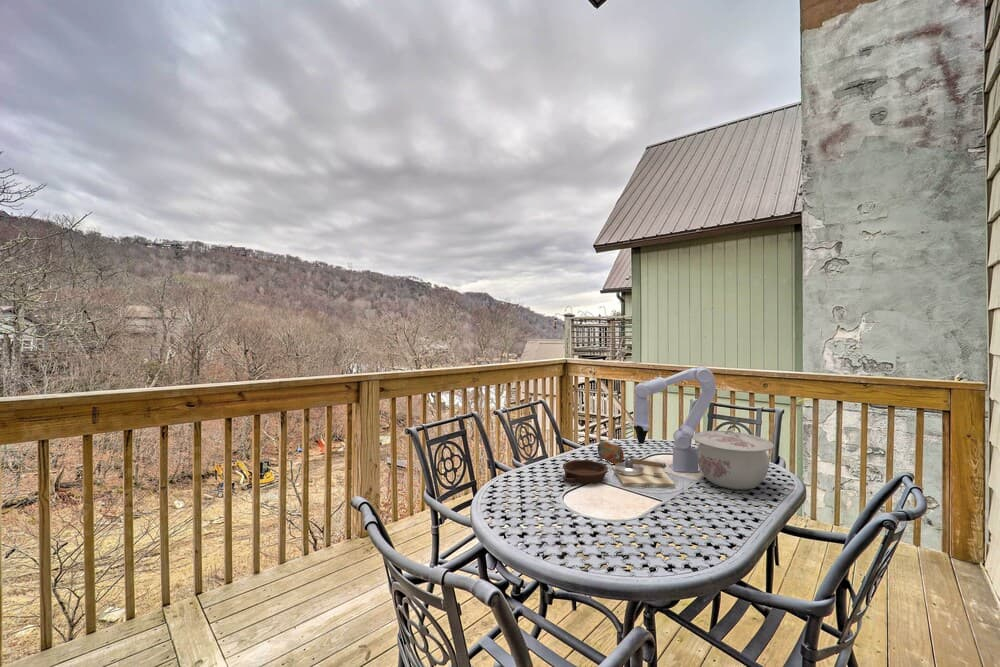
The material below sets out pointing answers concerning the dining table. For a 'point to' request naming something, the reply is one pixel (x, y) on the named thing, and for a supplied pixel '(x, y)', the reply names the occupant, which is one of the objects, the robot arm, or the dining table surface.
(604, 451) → the tin
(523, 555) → the dining table surface
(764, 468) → the chamber pot
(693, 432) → the robot arm
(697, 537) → the dining table surface
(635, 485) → the record player
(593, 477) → the dish
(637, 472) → the metal disc with handle
